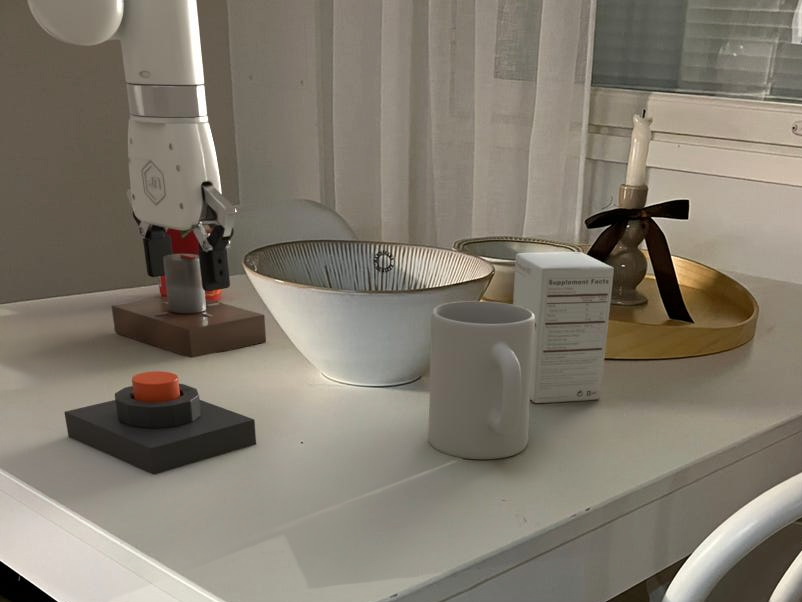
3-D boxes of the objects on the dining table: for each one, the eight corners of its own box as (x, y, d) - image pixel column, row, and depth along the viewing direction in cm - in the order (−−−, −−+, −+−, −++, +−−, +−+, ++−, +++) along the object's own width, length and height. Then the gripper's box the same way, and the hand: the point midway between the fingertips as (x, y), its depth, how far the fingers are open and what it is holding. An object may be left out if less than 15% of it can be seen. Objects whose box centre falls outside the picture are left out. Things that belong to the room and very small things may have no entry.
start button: (125, 398, 83) (122, 376, 82) (162, 389, 86) (160, 368, 85) (151, 408, 81) (149, 386, 81) (189, 399, 84) (187, 377, 83)
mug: (416, 430, 90) (417, 302, 85) (506, 423, 93) (513, 298, 87) (459, 479, 81) (464, 338, 75) (559, 470, 83) (570, 333, 78)
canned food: (192, 307, 126) (182, 212, 121) (146, 298, 130) (135, 204, 124) (236, 297, 132) (229, 206, 127) (191, 288, 136) (182, 199, 130)
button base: (68, 437, 85) (60, 389, 83) (169, 411, 92) (164, 367, 90) (154, 475, 79) (147, 425, 77) (256, 444, 86) (253, 397, 84)
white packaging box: (506, 382, 104) (513, 251, 98) (573, 378, 106) (584, 250, 100) (531, 404, 98) (541, 266, 92) (602, 400, 100) (616, 265, 94)
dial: (161, 309, 112) (154, 253, 110) (191, 303, 115) (186, 249, 112) (183, 315, 110) (177, 259, 107) (213, 310, 113) (209, 254, 110)
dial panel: (114, 332, 115) (110, 303, 113) (189, 319, 121) (186, 291, 120) (191, 358, 107) (188, 327, 106) (266, 342, 114) (264, 313, 112)
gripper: (86, 100, 105) (112, 274, 114) (189, 111, 96) (209, 300, 104) (149, 98, 110) (169, 265, 119) (253, 109, 101) (267, 289, 109)
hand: (188, 282), depth 111 cm, fingers open, 9 cm apart
